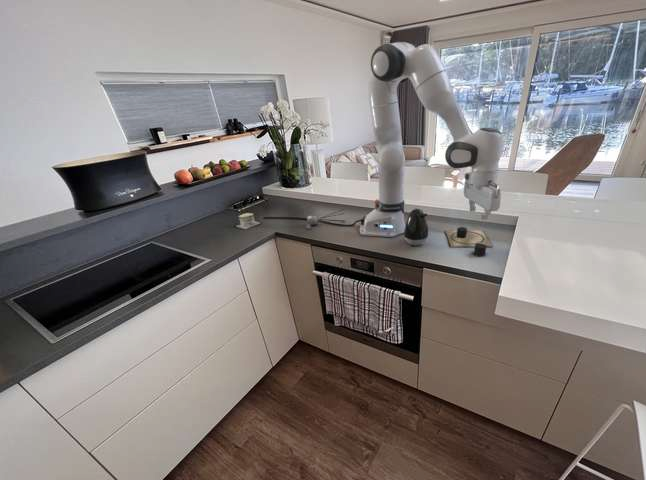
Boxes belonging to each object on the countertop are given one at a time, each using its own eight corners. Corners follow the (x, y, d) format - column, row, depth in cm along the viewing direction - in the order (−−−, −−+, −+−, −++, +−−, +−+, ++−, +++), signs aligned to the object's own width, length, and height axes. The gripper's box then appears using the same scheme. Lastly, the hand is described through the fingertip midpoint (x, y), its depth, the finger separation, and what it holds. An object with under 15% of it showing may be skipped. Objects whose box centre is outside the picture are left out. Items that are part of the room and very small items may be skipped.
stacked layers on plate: (245, 229, 150) (242, 219, 147) (235, 226, 155) (232, 216, 152) (261, 223, 156) (258, 213, 154) (251, 220, 161) (249, 211, 159)
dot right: (475, 256, 110) (476, 248, 108) (472, 251, 113) (474, 243, 112) (486, 256, 109) (487, 248, 108) (483, 251, 113) (484, 243, 111)
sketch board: (450, 247, 118) (450, 245, 118) (445, 231, 132) (445, 230, 131) (491, 247, 116) (491, 245, 115) (482, 231, 129) (482, 230, 129)
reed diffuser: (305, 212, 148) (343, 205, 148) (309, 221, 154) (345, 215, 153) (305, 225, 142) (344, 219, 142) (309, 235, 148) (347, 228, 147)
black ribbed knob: (459, 238, 123) (460, 231, 121) (454, 235, 126) (455, 227, 125) (467, 237, 123) (468, 229, 122) (463, 233, 127) (464, 226, 125)
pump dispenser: (416, 250, 117) (417, 215, 110) (398, 242, 125) (399, 209, 117) (433, 243, 122) (435, 208, 115) (415, 235, 130) (416, 203, 122)
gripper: (509, 184, 93) (501, 224, 100) (478, 171, 111) (473, 206, 117) (490, 186, 92) (484, 226, 99) (462, 173, 110) (458, 207, 117)
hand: (478, 215), depth 108 cm, fingers open, 8 cm apart
